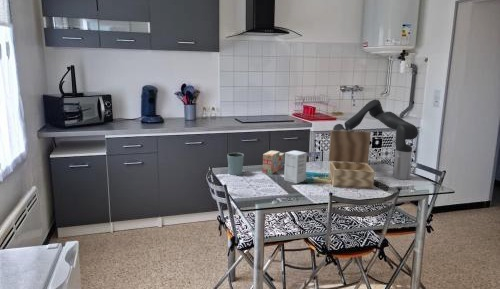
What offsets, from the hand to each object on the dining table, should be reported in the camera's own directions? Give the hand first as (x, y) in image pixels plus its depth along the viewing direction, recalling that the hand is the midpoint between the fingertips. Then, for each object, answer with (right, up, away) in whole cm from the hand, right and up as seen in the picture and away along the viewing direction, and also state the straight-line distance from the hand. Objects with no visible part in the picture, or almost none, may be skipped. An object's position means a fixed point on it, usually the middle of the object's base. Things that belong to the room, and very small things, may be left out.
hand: (348, 141), depth 227 cm
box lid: (0, -3, -3) cm, 4 cm away
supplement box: (-33, -23, -4) cm, 40 cm away
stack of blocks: (-44, -18, +17) cm, 50 cm away
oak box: (-1, -24, -6) cm, 25 cm away
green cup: (-68, -20, +6) cm, 71 cm away
